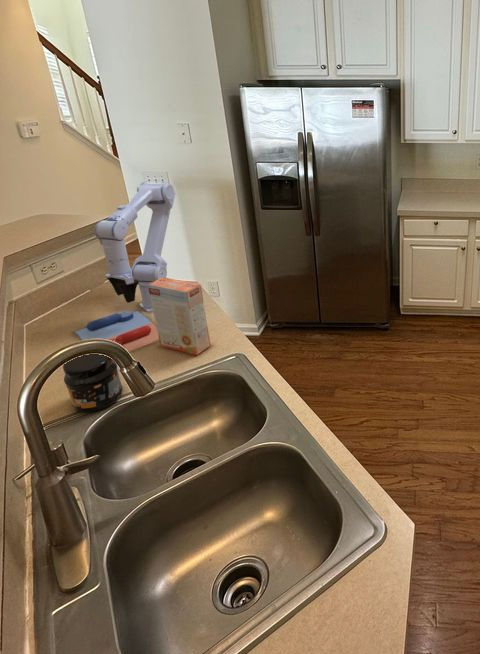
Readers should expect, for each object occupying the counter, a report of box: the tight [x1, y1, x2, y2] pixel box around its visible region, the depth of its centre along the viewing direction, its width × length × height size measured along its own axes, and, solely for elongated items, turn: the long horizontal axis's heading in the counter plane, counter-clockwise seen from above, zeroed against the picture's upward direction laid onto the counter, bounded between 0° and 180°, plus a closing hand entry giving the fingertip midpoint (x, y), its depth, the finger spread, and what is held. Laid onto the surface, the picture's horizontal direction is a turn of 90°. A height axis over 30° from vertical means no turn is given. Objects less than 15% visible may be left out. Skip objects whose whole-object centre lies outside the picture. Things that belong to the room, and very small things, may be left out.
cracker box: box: [148, 277, 211, 356], centre depth 126 cm, size 14×6×21 cm, turn 71°
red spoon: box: [109, 326, 151, 345], centre depth 130 cm, size 13×5×3 cm, turn 141°
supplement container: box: [62, 354, 124, 413], centre depth 105 cm, size 10×10×12 cm
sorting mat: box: [74, 310, 159, 353], centre depth 134 cm, size 18×24×1 cm
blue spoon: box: [85, 310, 133, 330], centre depth 139 cm, size 13×5×3 cm, turn 141°
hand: (126, 297), depth 137 cm, fingers open, 7 cm apart
